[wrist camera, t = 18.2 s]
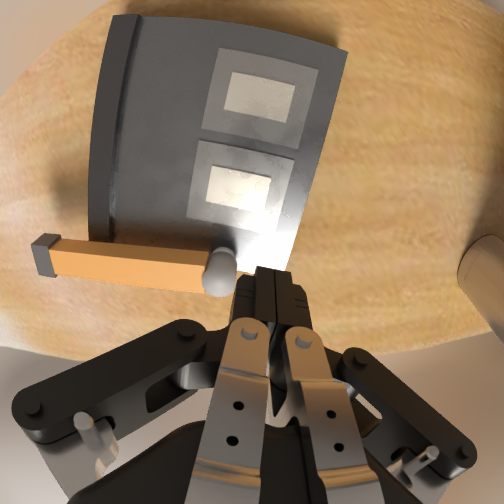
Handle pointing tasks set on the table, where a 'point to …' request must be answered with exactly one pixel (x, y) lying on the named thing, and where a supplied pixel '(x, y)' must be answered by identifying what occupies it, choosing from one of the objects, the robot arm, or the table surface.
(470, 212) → the table surface
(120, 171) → the plate
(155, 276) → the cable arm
